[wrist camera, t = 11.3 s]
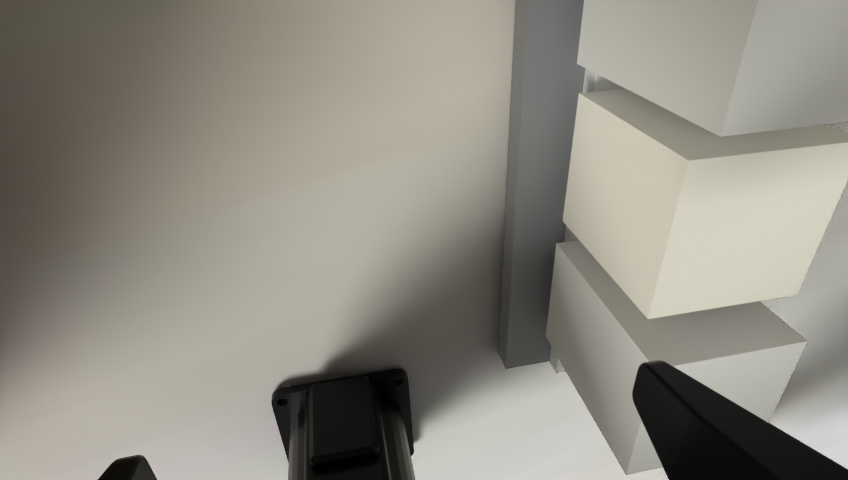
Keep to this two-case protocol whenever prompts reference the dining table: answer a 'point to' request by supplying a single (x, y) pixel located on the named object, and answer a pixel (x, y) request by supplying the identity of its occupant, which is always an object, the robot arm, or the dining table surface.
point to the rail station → (692, 100)
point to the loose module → (698, 203)
